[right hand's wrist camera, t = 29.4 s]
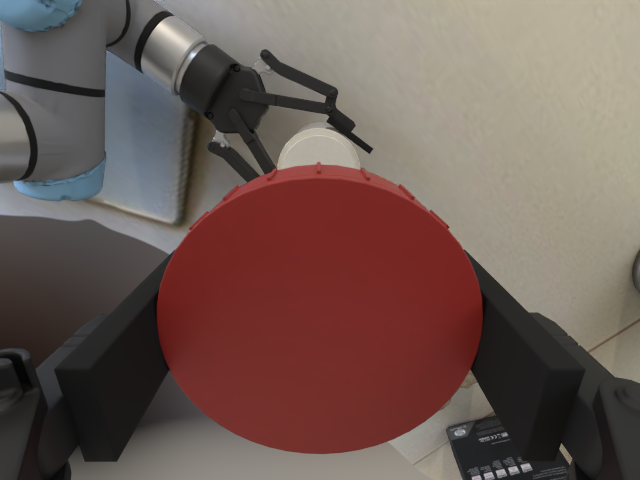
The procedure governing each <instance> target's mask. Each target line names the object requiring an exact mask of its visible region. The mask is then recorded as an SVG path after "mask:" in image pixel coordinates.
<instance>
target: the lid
mask: <svg viewBox="0 0 640 480" xmlns="http://www.w3.org/2000/svg"><path fill="white" fill-rule="evenodd" d="M448 228H449V226H448V225H447V224H446V223H445V222H444V221H443V220H441V219H440V218H439V217H438V216H437V215H436V214H435V213H434V212H433V211H432V210H430V211H428V210H427V209H426V208H425V207H424V206H423V205H422V204H421V203H420V202H419V201H417V200H416V199H415V197H414V196H413V195H412V194H411V193H410V192H409V191H408V190H407V189H406V188H405V187H404V186H402V185H401V184H400V185H399V186H397V185H396V184H394V183H392V182H390V181H388V180H386V179H384V178H382V177H380V176H377V175H375V174H372V173H369V172H366V170H365V169H364V168H360V170H359V169H355V168H350V167H344V166H338V165H321V162H317V164H315V165H303V166H294V167H290V168H285V169H281V170H278V169H277V168H275V169H273V171H272V172H271V173H268V174H265V175H263V176H260V177H257V178H255V179H253V180H252V181H250V182H248V183H246V184H244V185H242V186H240V187H239V186H238V185H237V186H236V187H234V188H233V189H232V190H231V191H230V192H229V193H228V194H227V195H226V196H225V197H224V198H223V200H222V201H221V202H220V203H219V204H218V205H217V206H215V207H214V208H213V209H212V210H211V211H210V212H208V211H207V212H206V213H205V214H204V215H203V216H202V217H201V218H199V219H198V220H197V221H196V222H195V223H194V224H193V225H192V226H191V227H190V228H189V229H190V230H191V231H190V232H189V233H188V234H187V235H186V237H185V238H184V239H183V241H182V242H181V243H180V245H179V246H178V247H177V249H176V250H175V252H174V254H173V256H172V258H171V260H170V261H169V263H168V265H167V267H166V270H165V273H164V276H163V279H162V282H161V285H160V289H159V295H158V301H157V330H158V335H159V341H160V345H161V349H162V352H163V356H164V359H165V361H166V363H167V365H168V367H169V369H170V372H171V374H172V375H173V377H174V379H175V380H176V382H177V383H178V385H179V386H180V388H181V389H182V391H183V392H184V393H185V394H186V395H187V396H188V398H189V399H190V400H191V401H192V402H193V403H194V404H195V405H196V406H197V407H198V408H199V409H200V410H201V411H202V412H203V413H204V414H206V415H207V416H208V417H210V418H211V419H212V420H214V421H215V422H216V423H218V424H219V425H221V426H222V427H224V428H226V429H227V430H229V431H231V432H233V433H234V434H236V435H239V436H241V437H243V438H245V439H248V440H250V441H252V442H255V443H258V444H261V445H264V446H267V447H271V448H276V449H280V450H284V451H291V452H298V453H310V454H329V453H343V452H349V451H355V450H360V449H364V448H368V447H372V446H376V445H379V444H381V443H384V442H387V441H390V440H392V439H395V438H397V437H399V436H401V435H403V434H405V433H407V432H409V431H411V430H412V429H414V428H415V427H417V426H419V425H420V424H422V423H423V422H425V421H426V420H427V419H429V418H430V417H431V416H432V415H434V414H435V413H436V412H437V411H439V410H440V409H441V408H442V407H443V406H444V405H445V404H446V403H447V402H448V401H449V400H450V399H451V397H452V396H453V395H454V394H455V392H456V391H457V390H458V388H459V387H460V386H461V384H462V383H463V381H464V379H465V378H466V376H467V374H468V373H469V371H470V369H471V367H472V364H473V362H474V359H475V357H476V354H477V352H478V348H479V344H480V339H481V334H482V325H483V307H482V296H481V292H480V287H479V283H478V279H477V277H476V274H475V272H474V269H473V267H472V264H471V262H470V260H469V258H468V257H467V255H466V253H465V252H464V250H463V248H462V247H461V245H460V243H459V242H458V241H457V240H456V239H455V237H454V236H453V235H452V234H451V233H450V231H449V230H448Z"/></svg>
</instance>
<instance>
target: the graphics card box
mask: <svg viewBox="0 0 640 480" xmlns="http://www.w3.org/2000/svg"><path fill="white" fill-rule="evenodd" d="M446 431H447V435H448V438H449V441H450V445H451V448H452V451H453V454H454V457H455V459H456V462H457V465H458V468H459V471H460V473H461V476H462V479H463V480H565V478H566V475H567V472H568V470H569V467H570V465H569V463H568V462H567V460H566V459H565V457H564V456H563V454H562V453H561V451H560V450H559V451H558V454H557V457H556V460H555V461H522V459H521V457H520V455H519V454H518V452H517V450H516V448H515V447H514V445H513V443H512V441H511V440H510V438H509V436H508V434H507V433H506V431H505V429H504V427H503V426H502V424H501V422H500V421H499V419H498V417H497V416H492V417H489V418H485V419H481V420H476V421H472V422H468V423H465V424H460V425H456V426H452V427H448V428H447V429H446Z"/></svg>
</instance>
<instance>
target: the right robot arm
mask: <svg viewBox="0 0 640 480" xmlns="http://www.w3.org/2000/svg"><path fill="white" fill-rule="evenodd" d="M174 252H175V250H174V251H173V252H172V253H171V254H170V255H169V256H168V257H167V258H166V259H165V260H164V261H163V262H162V263H161V264H160V265H159V266H158V267H157V268H156V269H155V270H154V271H153V272H152V273H151V274H150V275H149V276H148V277H147V278H146V279H145V280H144V281H143V282H142V283H141V284H140V285H139V286H138V287H137V288H136V289H135V290H134V291H133V292H132V293H131V294H130V295H129V296H128V297H127V298H126V299H125V300H124V301H123V302H122V303H121V304H120V305H119V306H118V307H116V308H115V309H114V310H113V311H112V312H111V313H110V314H101V315H99V316H98V317H96V318H94V319H92V320H91V321H89V322H87V323H85V324H84V325H83V326H82V327H81V328H80V329H79V330H78V331H77V332H75V333H74V334H73V337H70V338H69V339H68V340H67V341H66V342H65V343H63V345H62V347H59V348H58V349H57V350H56V351H55V352H54V353H53V354H52V355H51V356H49V357H48V358H47V359H46V360H45V361H44V362H43V363H42V364H41V365H40V366H39V367H37V368H36V369H35V367H34V365H33V362H32V359H31V356H30V353H29V352H28V351H26V350H24V349H18V348H10V349H3V350H0V480H71V468H70V464H69V462H68V458H69V457H70V456H71V454H72V453H73V451H74V450H75V449H76V447H77V446H78V444H79V446H80V448H81V452H82V454H83V457H84V460H85V461H86V462H97V461H99V462H100V461H101V462H103V461H104V462H106V461H107V462H108V461H109V462H111V461H112V462H116V461H117V460H118V459H119V457H120V455H121V453H122V452H123V450H124V448H125V446H126V445H127V443H128V441H129V439H130V438H131V436H132V434H133V432H134V431H135V429H136V427H137V425H138V423H139V422H140V420H141V418H142V417H143V415H144V413H145V411H146V410H147V408H148V406H149V404H150V403H151V401H152V399H153V397H154V396H155V394H156V392H157V390H158V389H159V387H160V385H161V383H162V382H163V380H164V378H165V376H166V375H167V373H168V371H169V367H168V365H167V363H166V361H165V359H164V356H163V352H162V349H161V345H160V341H159V335H158V330H157V301H158V295H159V289H160V285H161V282H162V279H163V276H164V273H165V270H166V267H167V265H168V263H169V261H170V260H171V258H172V256H173V254H174ZM464 252H465V253H466V255H467V257H468V258H469V260H470V262H471V264H472V267H473V269H474V272H475V274H476V277H477V279H478V283H479V287H480V292H481V296H482V307H483V325H482V334H481V339H480V344H479V348H478V352H477V354H476V357H475V359H474V362H473V364H472V367H471V369H470V370H471V372H472V373H473V375H474V377H475V379H476V380H477V382H478V384H479V386H480V387H481V389H482V391H483V393H484V394H485V396H486V398H487V400H488V401H489V403H490V405H491V407H492V408H493V410H494V412H495V414H496V415H497V417H498V419H499V421H500V422H501V424H502V426H503V427H504V429H505V431H506V433H507V434H508V436H509V438H510V440H511V441H512V443H513V445H514V447H515V448H516V450H517V452H518V454H519V455H520V457H521V459H522V461H555V460H556V457H557V454H558V451H559V448H560V445H561V443H562V444H563V446H564V447H565V448H566V450H567V451H568V453H569V454H570V455H571V457H572V458H573V459H572V461H571V464H570V467H569V470H568V472H567V475H566V478H565V480H640V383H637V382H634V381H632V380H627V379H622V378H615V377H614V376H613V375H612V374H611V373H610V372H609V371H608V370H606V369H605V368H604V367H603V366H602V365H601V364H600V363H599V362H598V361H597V360H596V359H594V358H593V357H592V356H591V355H590V354H589V353H588V352H587V351H586V350H585V349H584V348H582V347H581V346H578V343H577V342H576V341H575V340H574V339H573V338H572V337H570V336H568V335H567V333H566V332H565V331H564V330H563V329H562V328H561V327H560V326H558V325H557V324H556V323H555V322H554V321H552V320H550V319H548V318H546V317H545V316H543V315H541V314H539V313H528V312H527V311H526V310H525V309H524V308H523V307H522V306H521V305H520V304H519V303H518V302H517V301H516V300H515V299H514V298H513V297H512V296H511V295H510V294H509V293H508V292H507V291H506V290H505V289H504V288H503V287H502V286H501V285H500V284H499V283H498V282H497V281H496V280H495V279H494V278H493V277H492V276H491V275H490V274H489V273H488V272H487V271H486V270H485V269H484V268H483V267H482V266H481V265H480V264H479V263H478V262H477V261H476V260H475V259H474V258H473V257H472V256H471V255H470V254H469V253H468V252H467V251H466V250H464ZM633 281H634V284H635V286H636V288H637V290H638V291H639V292H640V252H639V253H638V255H637V257H636V260H635V263H634V266H633Z"/></svg>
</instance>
